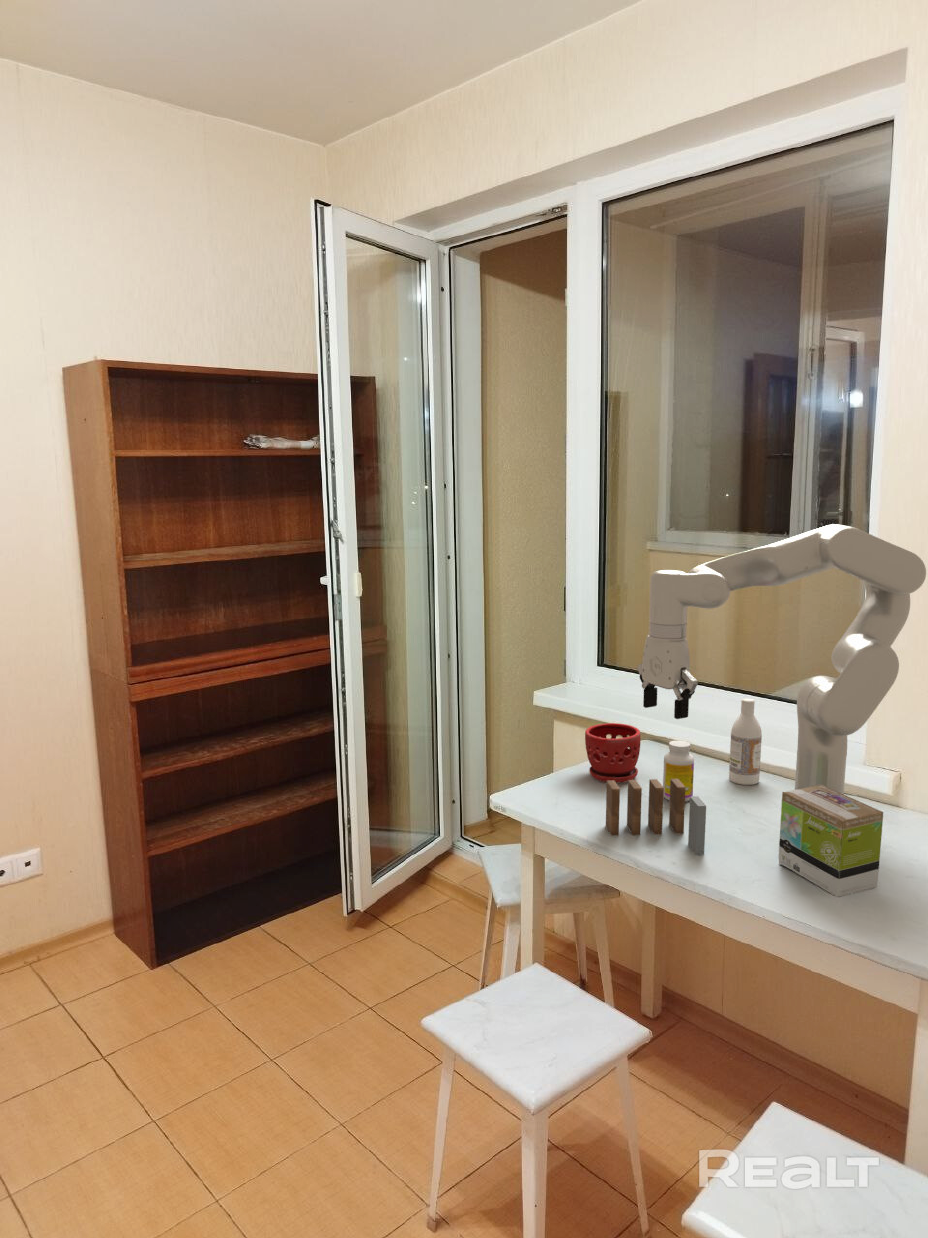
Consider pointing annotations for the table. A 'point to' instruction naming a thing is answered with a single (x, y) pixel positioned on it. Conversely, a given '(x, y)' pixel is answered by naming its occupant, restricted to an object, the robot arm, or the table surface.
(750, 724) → the bath foam
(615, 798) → the domino
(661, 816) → the domino
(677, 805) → the domino
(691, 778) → the supplement bottle
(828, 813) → the tea box
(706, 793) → the table surface
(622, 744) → the plant pot
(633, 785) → the domino
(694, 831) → the head domino
